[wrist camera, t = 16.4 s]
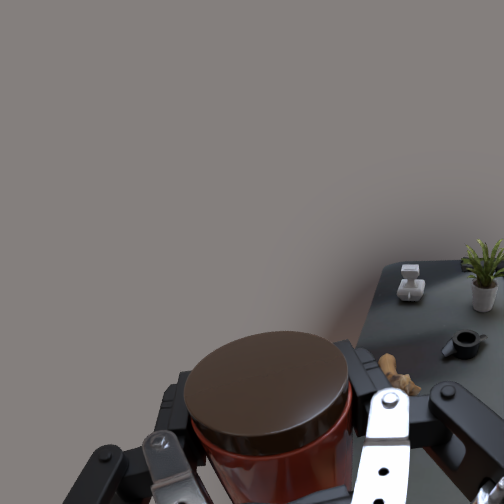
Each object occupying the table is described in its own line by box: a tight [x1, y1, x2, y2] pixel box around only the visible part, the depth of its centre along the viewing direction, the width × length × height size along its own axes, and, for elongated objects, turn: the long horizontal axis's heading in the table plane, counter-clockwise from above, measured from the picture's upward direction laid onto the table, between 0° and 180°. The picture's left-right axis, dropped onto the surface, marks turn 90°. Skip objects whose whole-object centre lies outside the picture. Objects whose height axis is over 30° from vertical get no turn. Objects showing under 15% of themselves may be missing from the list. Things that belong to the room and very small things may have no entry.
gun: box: [461, 257, 504, 274], centre depth 74 cm, size 2×19×15 cm
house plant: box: [466, 239, 504, 312], centre depth 58 cm, size 14×14×16 cm
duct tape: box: [441, 330, 488, 359], centre depth 49 cm, size 8×10×3 cm
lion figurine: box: [378, 354, 421, 396], centre depth 44 cm, size 15×5×9 cm, turn 179°
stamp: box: [397, 265, 425, 301], centre depth 73 cm, size 9×7×8 cm
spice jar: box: [184, 331, 353, 504], centre depth 12 cm, size 6×6×12 cm
